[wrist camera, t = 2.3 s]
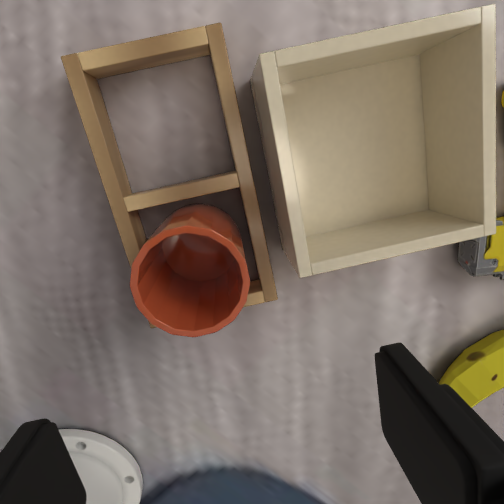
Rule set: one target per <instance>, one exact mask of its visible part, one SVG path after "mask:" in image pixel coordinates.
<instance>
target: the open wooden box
mask: <svg viewBox="0 0 504 504" xmlns="http://www.w3.org/2000/svg"><path fill="white" fill-rule="evenodd" d="M250 84H251V89H252V94H253V99H254V104H255V110H256V115H257V120H258V125H259V130H260V136H261V141H262V146H263V151H264V156H265V162H266V167H267V172H268V177H269V183H270V188H271V193H272V198H273V203H274V209H275V214H276V219H277V224H278V229H279V235H280V240H281V245H282V250H283V251H284V253H285V254H286V256H287V258H288V259H289V261H290V263H291V264H292V266H293V268H294V269H295V271H296V273H297V274H298V276H299V277H300V278H303V277H308V276H312V275H316V274H321V273H325V272H330V271H334V270H338V269H343V268H347V267H352V266H356V265H360V264H365V263H369V262H374V261H378V260H382V259H387V258H391V257H396V256H400V255H404V254H409V253H413V252H418V251H422V250H426V249H431V248H435V247H440V246H444V245H449V244H453V243H457V242H462V241H466V240H471V239H475V238H479V237H483V236H488V235H493V234H496V4H490V5H485V6H481V7H476V8H471V9H467V10H462V11H457V12H453V13H448V14H443V15H439V16H434V17H429V18H425V19H420V20H415V21H411V22H406V23H402V24H397V25H392V26H388V27H383V28H378V29H374V30H369V31H364V32H360V33H355V34H350V35H346V36H341V37H336V38H332V39H327V40H322V41H318V42H313V43H308V44H304V45H299V46H294V47H290V48H285V49H280V50H276V51H271V52H266V53H262V54H259V57H258V60H257V62H256V65H255V68H254V70H253V73H252V76H251V79H250Z"/></svg>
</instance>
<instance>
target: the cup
mask: <svg viewBox="0 0 504 504" xmlns="http://www.w3.org/2000/svg"><path fill="white" fill-rule="evenodd" d="M249 286H250V277H249V273H248V268H247V263H246V258H245V254H244V249H243V244H242V240H241V235H240V231H239V228H238V227H237V225H236V223H235V222H234V220H233V219H232V218H231V217H230V216H229V215H228V214H227V213H226V212H224V211H223V210H221V209H219V208H217V207H215V206H212V205H208V204H190V205H187V206H184V207H181V208H179V209H178V210H176V211H175V212H173V213H172V214H171V215H170V216H168V217H167V218H166V219H165V220H164V222H163V223H162V224H161V225H160V226H159V227H158V229H157V230H156V231H155V232H154V233H153V234H152V235H151V237H150V238H149V239H148V240H147V241H146V242H145V244H144V245H143V246H142V248H141V250H140V251H139V253H138V255H137V256H136V258H135V260H134V261H133V263H132V268H131V278H130V289H131V292H132V295H133V298H134V300H135V303H136V306H137V308H138V309H139V310H140V312H141V313H142V314H143V315H144V316H145V317H146V318H147V319H148V321H149V322H150V323H151V324H152V325H154V326H156V327H158V328H160V329H162V330H164V331H166V332H168V333H170V334H172V335H180V336H188V337H198V336H202V335H206V334H211V333H215V332H217V331H219V330H220V329H222V328H223V327H225V326H226V325H228V324H229V323H231V322H232V321H234V320H235V318H236V317H237V315H238V314H239V312H240V311H241V309H242V308H243V307H244V305H245V304H246V301H247V296H248V291H249Z"/></svg>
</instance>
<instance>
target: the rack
mask: <svg viewBox="0 0 504 504" xmlns="http://www.w3.org/2000/svg"><path fill="white" fill-rule="evenodd" d="M207 55H210V56H211V60H212V65H213V69H214V74H215V78H216V83H217V88H218V92H219V97H220V101H221V106H222V110H223V115H224V120H225V124H226V129H227V133H228V138H229V143H230V147H231V152H232V156H233V161H234V165H235V170H236V171H232V172H228V173H223V174H219V175H214V176H209V177H205V178H200V179H196V180H191V181H187V182H182V183H178V184H173V185H169V186H164V187H160V188H155V189H150V190H146V191H141V192H137V193H133V194H132V191H131V188H130V185H129V181H128V178H127V175H126V172H125V169H124V165H123V162H122V159H121V156H120V152H119V149H118V146H117V143H116V139H115V136H114V133H113V130H112V127H111V123H110V120H109V117H108V114H107V110H106V107H105V104H104V101H103V98H102V94H101V91H100V88H99V85H98V81H97V79H100V78H104V77H109V76H114V75H118V74H123V73H128V72H132V71H137V70H142V69H146V68H151V67H156V66H160V65H165V64H170V63H174V62H179V61H184V60H188V59H193V58H198V57H202V56H207ZM61 59H62V62H63V65H64V68H65V71H66V74H67V77H68V80H69V83H70V86H71V89H72V92H73V95H74V98H75V101H76V104H77V107H78V110H79V113H80V116H81V120H82V123H83V126H84V129H85V132H86V135H87V138H88V141H89V144H90V147H91V150H92V153H93V156H94V159H95V162H96V165H97V168H98V171H99V174H100V177H101V180H102V183H103V186H104V189H105V192H106V195H107V198H108V201H109V204H110V207H111V210H112V213H113V216H114V219H115V222H116V225H117V228H118V231H119V234H120V237H121V240H122V243H123V246H124V249H125V252H126V255H127V258H128V261H129V264H130V267H131V268H132V263H133V261H134V260H135V258H136V256H137V255H138V253H139V251H140V250H141V248H142V246H143V245H144V244H145V242H146V241H147V240H146V236H145V233H144V230H143V227H142V223H141V220H140V217H139V214H138V210H139V209H144V208H148V207H153V206H157V205H162V204H166V203H171V202H175V201H180V200H184V199H189V198H193V197H198V196H202V195H207V194H212V193H216V192H221V191H225V190H230V189H234V188H240V193H241V198H242V202H243V207H244V211H245V216H246V220H247V225H248V230H249V234H250V239H251V243H252V248H253V253H254V257H255V262H256V266H257V271H258V275H259V280H254V281H250V286H249V291H248V296H247V301H246V304H245V305H244V307H247V306H251V305H255V304H260V303H264V302H269V301H273V300H277V299H278V297H277V292H276V287H275V282H274V278H273V273H272V268H271V263H270V258H269V253H268V248H267V243H266V239H265V234H264V229H263V224H262V219H261V214H260V209H259V204H258V200H257V195H256V190H255V185H254V180H253V175H252V170H251V165H250V160H249V156H248V151H247V146H246V141H245V136H244V131H243V126H242V121H241V117H240V112H239V107H238V102H237V97H236V92H235V87H234V82H233V78H232V73H231V68H230V63H229V58H228V53H227V48H226V43H225V39H224V34H223V29H222V24H221V23H216V24H211V25H206V26H202V27H197V28H193V29H188V30H183V31H178V32H174V33H169V34H164V35H160V36H155V37H150V38H145V39H141V40H136V41H131V42H127V43H122V44H117V45H113V46H108V47H103V48H98V49H94V50H89V51H84V52H80V53H78V54H77V53H74V54H70V55H65V56H61ZM149 324H150V327H151V328H155V327H156V326H154V325H152V324H151V323H150V322H149Z"/></svg>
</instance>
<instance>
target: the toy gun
mask: <svg viewBox="0 0 504 504" xmlns="http://www.w3.org/2000/svg"><path fill="white" fill-rule="evenodd" d="M501 103H502V106H503V108H504V91H503V92H502V100H501ZM458 261H459V262H460V264H461V265H462V267H463V268H464V269H466V271H467V272H468V273H469V274H470V275H472V276H485V275H493V276H494V277H500V280H504V216H502V217H499V218H496V234H493V235H488V236H483V237H479V238H475V239H471V240H466V241H462V242H460V243H459V253H458Z"/></svg>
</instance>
